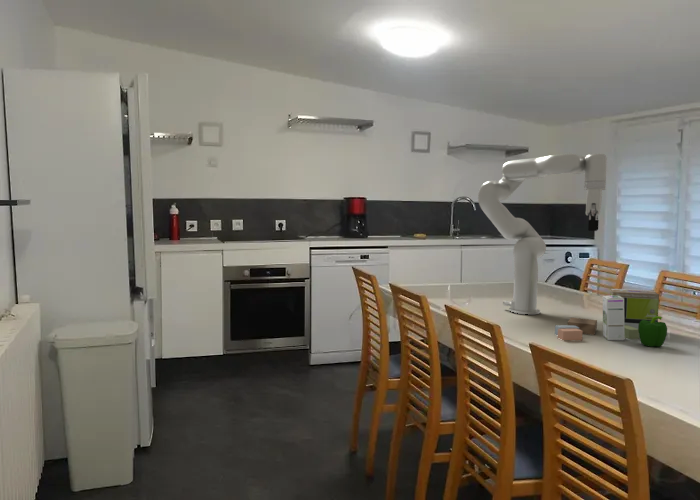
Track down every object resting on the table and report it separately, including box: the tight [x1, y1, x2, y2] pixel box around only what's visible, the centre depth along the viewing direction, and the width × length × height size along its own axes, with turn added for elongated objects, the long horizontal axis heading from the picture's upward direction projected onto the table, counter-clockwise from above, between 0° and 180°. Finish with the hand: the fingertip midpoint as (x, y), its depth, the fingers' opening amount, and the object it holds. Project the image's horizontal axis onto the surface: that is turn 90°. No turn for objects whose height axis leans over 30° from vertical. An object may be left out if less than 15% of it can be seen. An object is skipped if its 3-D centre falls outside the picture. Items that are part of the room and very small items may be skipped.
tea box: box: [609, 288, 660, 329], centre depth 205 cm, size 15×10×15 cm
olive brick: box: [624, 325, 640, 340], centre depth 196 cm, size 7×4×4 cm, turn 4°
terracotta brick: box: [557, 328, 584, 341], centre depth 191 cm, size 7×4×4 cm, turn 98°
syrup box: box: [602, 294, 626, 341], centre depth 192 cm, size 6×6×14 cm
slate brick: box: [554, 324, 579, 336], centre depth 196 cm, size 7×4×4 cm, turn 93°
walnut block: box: [567, 317, 598, 336], centre depth 204 cm, size 9×9×4 cm
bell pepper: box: [638, 315, 668, 348], centre depth 183 cm, size 8×8×10 cm
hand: (593, 230), depth 218 cm, fingers open, 9 cm apart
